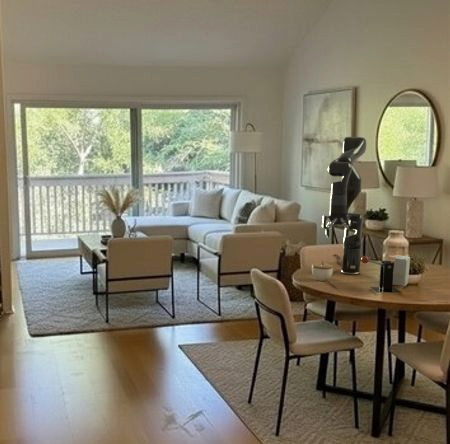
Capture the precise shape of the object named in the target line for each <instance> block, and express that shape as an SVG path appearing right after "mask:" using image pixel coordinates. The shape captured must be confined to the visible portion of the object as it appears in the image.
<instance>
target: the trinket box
mask: <svg viewBox="0 0 450 444" xmlns="http://www.w3.org/2000/svg"><path fill="white" fill-rule="evenodd" d="M333 272H334V265H333V264H331V263H326V262H324V261H321V262H315V263H312V264H311V273H312V276H313V278H314V279H315V280H316V281H318V282H319V281H321V282H326V281H327V282H328V280H329V279H330V278H331V277H332V275H333Z"/></svg>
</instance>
